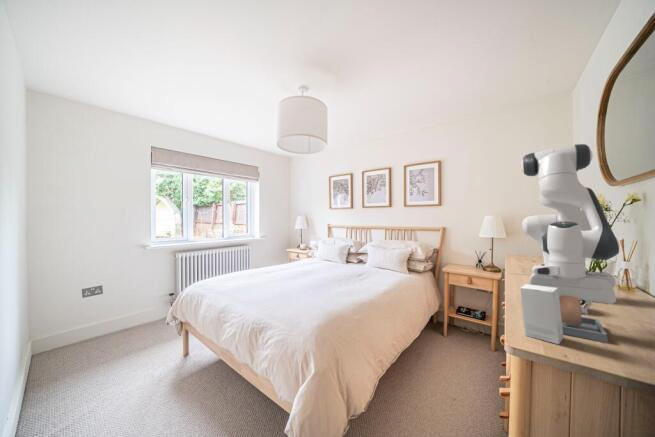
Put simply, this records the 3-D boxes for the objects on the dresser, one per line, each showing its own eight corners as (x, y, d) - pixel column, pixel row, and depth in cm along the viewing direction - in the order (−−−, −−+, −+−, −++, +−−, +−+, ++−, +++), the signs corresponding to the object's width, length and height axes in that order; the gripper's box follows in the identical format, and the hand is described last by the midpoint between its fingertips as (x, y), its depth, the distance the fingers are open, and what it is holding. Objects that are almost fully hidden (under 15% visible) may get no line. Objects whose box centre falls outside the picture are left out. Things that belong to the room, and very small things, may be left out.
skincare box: (564, 338, 72) (560, 287, 73) (558, 345, 68) (555, 291, 69) (529, 329, 79) (526, 283, 79) (522, 335, 75) (519, 286, 76)
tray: (542, 317, 88) (541, 310, 88) (598, 326, 79) (598, 319, 79) (542, 330, 78) (542, 322, 78) (607, 343, 69) (607, 334, 69)
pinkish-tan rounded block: (559, 317, 82) (557, 292, 83) (580, 321, 79) (578, 294, 79) (560, 322, 78) (558, 295, 79) (583, 326, 75) (581, 298, 75)
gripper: (612, 271, 75) (615, 315, 74) (527, 265, 88) (530, 303, 88) (617, 275, 70) (620, 322, 69) (527, 268, 84) (529, 307, 83)
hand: (569, 311), depth 79 cm, fingers closed on pinkish-tan rounded block, 5 cm apart
